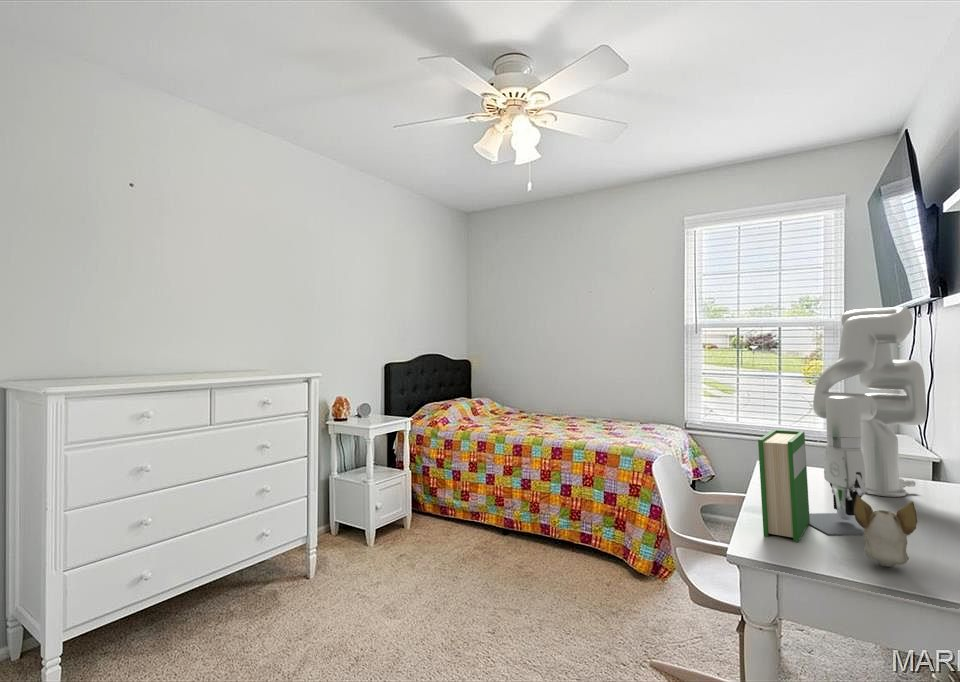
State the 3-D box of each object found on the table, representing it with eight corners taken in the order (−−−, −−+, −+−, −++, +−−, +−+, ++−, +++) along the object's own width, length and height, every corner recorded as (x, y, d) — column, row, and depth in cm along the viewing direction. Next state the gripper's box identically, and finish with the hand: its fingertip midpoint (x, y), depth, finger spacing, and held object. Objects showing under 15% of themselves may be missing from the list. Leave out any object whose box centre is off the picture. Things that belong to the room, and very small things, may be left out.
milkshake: (862, 521, 133) (861, 482, 133) (839, 520, 134) (838, 482, 134) (853, 515, 138) (852, 478, 138) (831, 514, 139) (830, 477, 139)
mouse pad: (863, 514, 144) (863, 512, 144) (910, 534, 128) (910, 532, 128) (791, 515, 144) (790, 513, 144) (828, 535, 128) (828, 533, 128)
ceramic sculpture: (918, 566, 109) (915, 495, 110) (920, 581, 103) (917, 505, 103) (856, 555, 116) (853, 488, 116) (854, 568, 109) (852, 497, 109)
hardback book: (798, 542, 124) (792, 442, 124) (763, 536, 129) (758, 439, 129) (809, 521, 137) (804, 431, 138) (778, 516, 142) (773, 429, 143)
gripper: (810, 437, 145) (812, 503, 145) (851, 448, 128) (854, 522, 128) (837, 437, 145) (839, 502, 144) (882, 448, 128) (885, 522, 128)
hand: (846, 511), depth 136 cm, fingers closed on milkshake, 4 cm apart
